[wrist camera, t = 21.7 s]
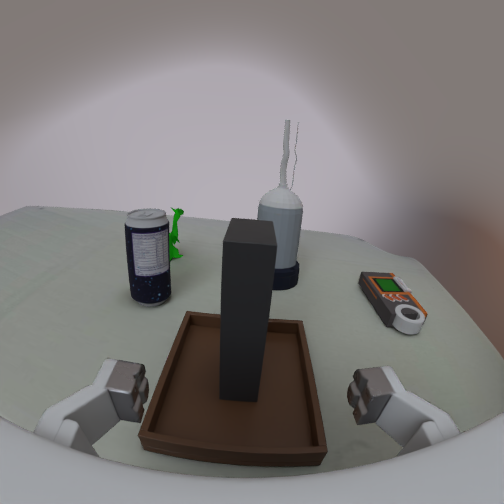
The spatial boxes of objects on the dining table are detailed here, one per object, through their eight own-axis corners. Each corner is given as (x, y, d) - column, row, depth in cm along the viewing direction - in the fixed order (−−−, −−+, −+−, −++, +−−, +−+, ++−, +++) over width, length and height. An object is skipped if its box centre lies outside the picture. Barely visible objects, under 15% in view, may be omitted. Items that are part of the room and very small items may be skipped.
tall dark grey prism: (219, 399, 22) (223, 240, 17) (225, 356, 27) (231, 216, 22) (257, 402, 22) (277, 244, 17) (257, 358, 27) (272, 220, 22)
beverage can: (177, 292, 40) (176, 209, 36) (161, 313, 34) (155, 220, 30) (143, 286, 40) (139, 206, 36) (124, 304, 35) (115, 216, 31)
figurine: (200, 248, 55) (196, 204, 51) (164, 281, 46) (155, 231, 41) (174, 242, 57) (169, 200, 53) (137, 273, 48) (127, 226, 43)
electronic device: (400, 322, 31) (361, 268, 45) (392, 340, 32) (357, 284, 46) (438, 320, 32) (394, 270, 45) (430, 337, 33) (389, 285, 46)
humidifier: (267, 264, 52) (280, 122, 43) (306, 278, 48) (326, 125, 39) (237, 277, 46) (249, 116, 37) (279, 295, 41) (299, 116, 33)
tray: (319, 465, 16) (328, 451, 16) (144, 450, 16) (137, 435, 16) (299, 336, 32) (302, 320, 32) (187, 327, 32) (186, 310, 32)
